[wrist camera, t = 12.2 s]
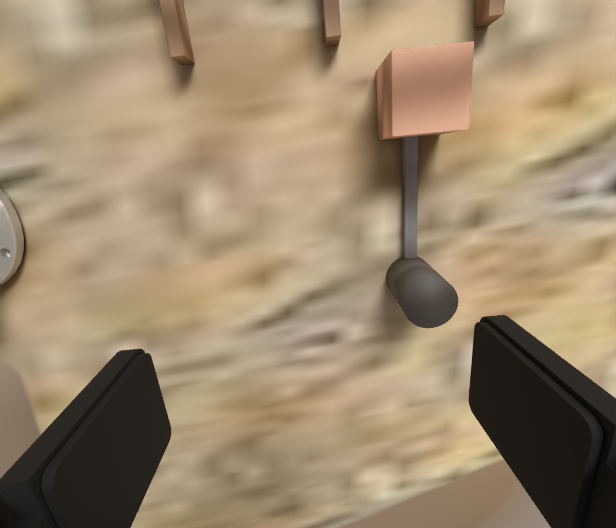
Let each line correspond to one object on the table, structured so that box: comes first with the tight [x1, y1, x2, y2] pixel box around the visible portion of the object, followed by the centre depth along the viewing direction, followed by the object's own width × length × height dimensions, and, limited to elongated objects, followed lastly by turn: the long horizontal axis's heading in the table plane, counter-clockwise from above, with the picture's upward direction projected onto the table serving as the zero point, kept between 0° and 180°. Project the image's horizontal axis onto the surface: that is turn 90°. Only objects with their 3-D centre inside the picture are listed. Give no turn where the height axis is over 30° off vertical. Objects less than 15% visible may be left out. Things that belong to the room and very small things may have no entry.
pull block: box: [376, 41, 474, 328], centre depth 25 cm, size 19×5×6 cm, turn 5°
